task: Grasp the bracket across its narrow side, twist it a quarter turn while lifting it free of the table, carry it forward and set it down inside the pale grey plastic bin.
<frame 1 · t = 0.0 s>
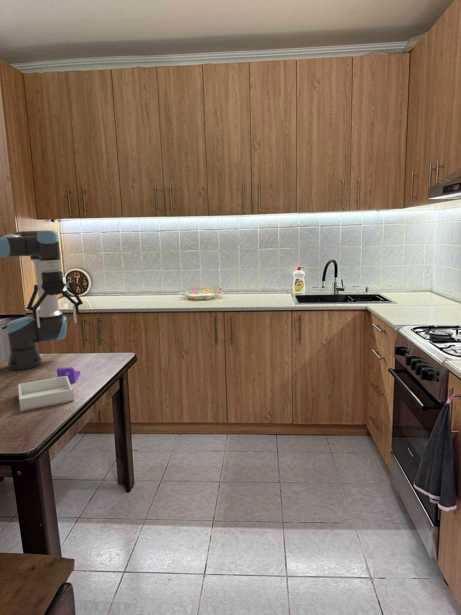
hand: (57, 324, 175), 28 cm above the table, fingers open, 13 cm apart
bracket: (69, 379, 196), on the table
bin: (46, 397, 174), on the table
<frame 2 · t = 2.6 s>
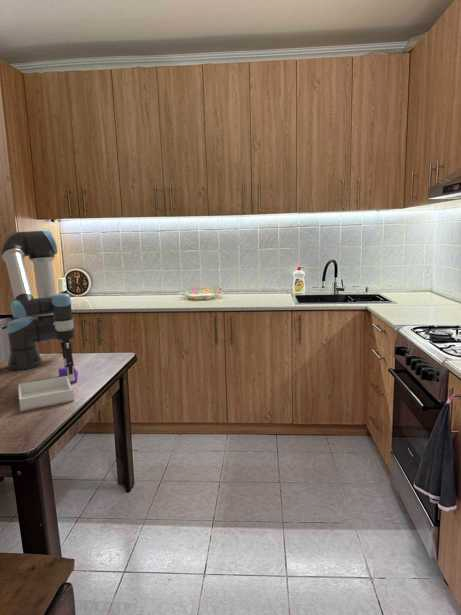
hand: (69, 376, 195), 1 cm above the table, fingers open, 13 cm apart
bracket: (69, 380, 195), on the table, touching gripper
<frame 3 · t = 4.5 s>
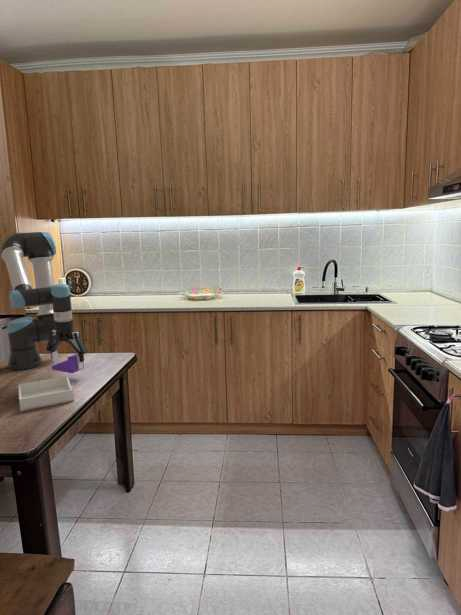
hand: (68, 367, 195), 5 cm above the table, fingers closed on bracket, 12 cm apart
bracket: (68, 369, 195), point 4 cm above the table, touching gripper
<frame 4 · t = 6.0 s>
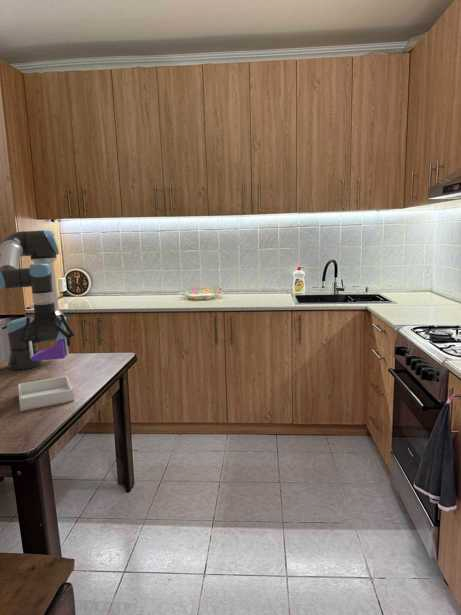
hand: (49, 355, 177), 15 cm above the table, fingers closed on bracket, 12 cm apart
bracket: (50, 357, 177), point 15 cm above the table, touching gripper
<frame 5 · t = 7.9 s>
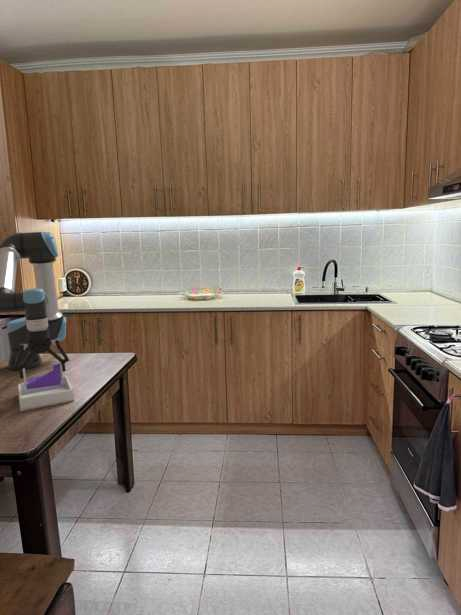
hand: (44, 382, 173), 6 cm above the table, fingers closed on bracket, 12 cm apart
bracket: (44, 384, 173), point 6 cm above the table, touching gripper
when the fingers open (3 cm above the table, at t = 9.2 s): bracket drops 2 cm, resting on bin.
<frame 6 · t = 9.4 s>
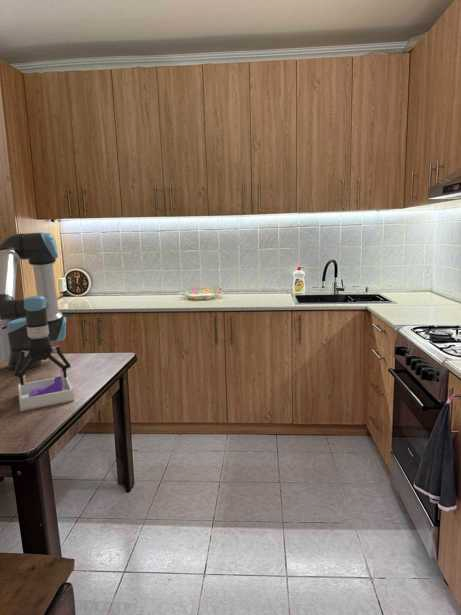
hand: (45, 389, 173), 4 cm above the table, fingers open, 13 cm apart
bracket: (46, 397, 174), resting on bin
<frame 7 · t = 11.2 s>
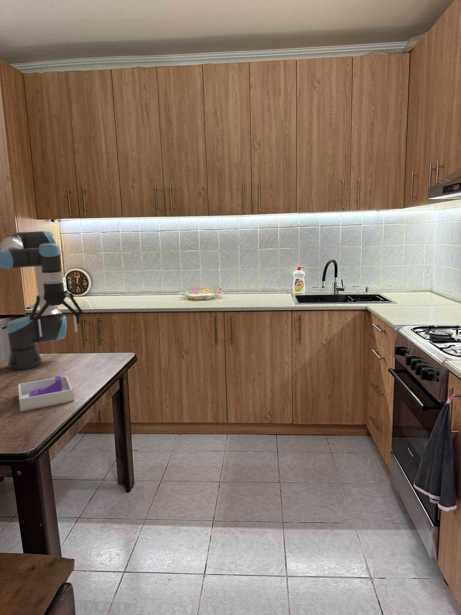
hand: (58, 333, 182), 23 cm above the table, fingers open, 13 cm apart
nothing on the table moved.
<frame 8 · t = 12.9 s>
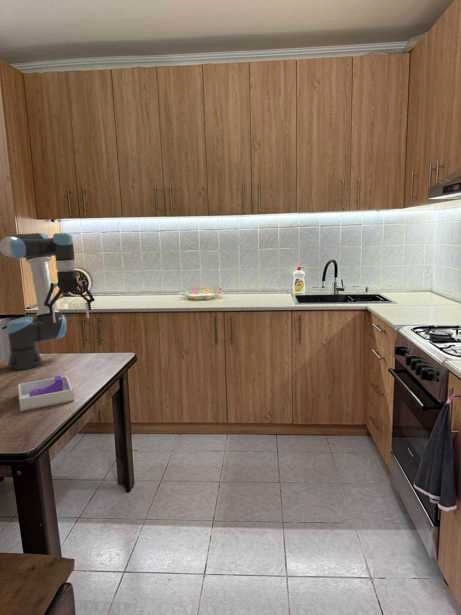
hand: (71, 320, 189), 27 cm above the table, fingers open, 13 cm apart
nothing on the table moved.
at the end: bracket inside the target area on the bin (0.4 cm from its centre), point 0.4 cm above the bin's base; the gripper is holding nothing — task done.
